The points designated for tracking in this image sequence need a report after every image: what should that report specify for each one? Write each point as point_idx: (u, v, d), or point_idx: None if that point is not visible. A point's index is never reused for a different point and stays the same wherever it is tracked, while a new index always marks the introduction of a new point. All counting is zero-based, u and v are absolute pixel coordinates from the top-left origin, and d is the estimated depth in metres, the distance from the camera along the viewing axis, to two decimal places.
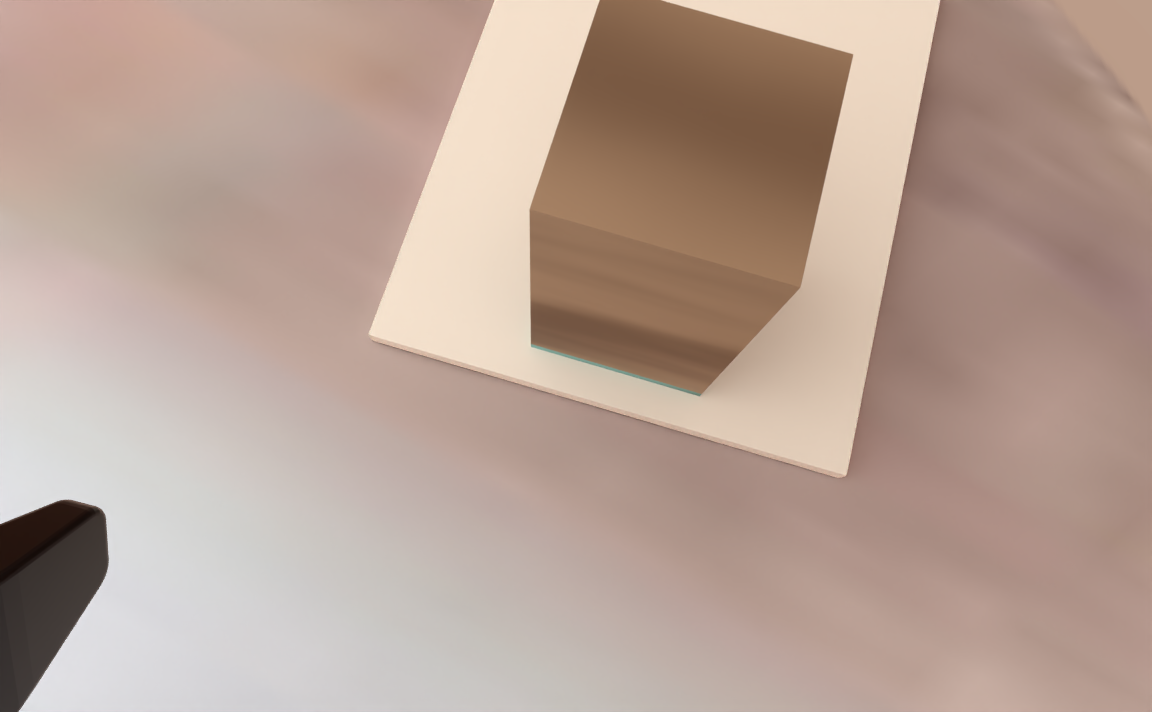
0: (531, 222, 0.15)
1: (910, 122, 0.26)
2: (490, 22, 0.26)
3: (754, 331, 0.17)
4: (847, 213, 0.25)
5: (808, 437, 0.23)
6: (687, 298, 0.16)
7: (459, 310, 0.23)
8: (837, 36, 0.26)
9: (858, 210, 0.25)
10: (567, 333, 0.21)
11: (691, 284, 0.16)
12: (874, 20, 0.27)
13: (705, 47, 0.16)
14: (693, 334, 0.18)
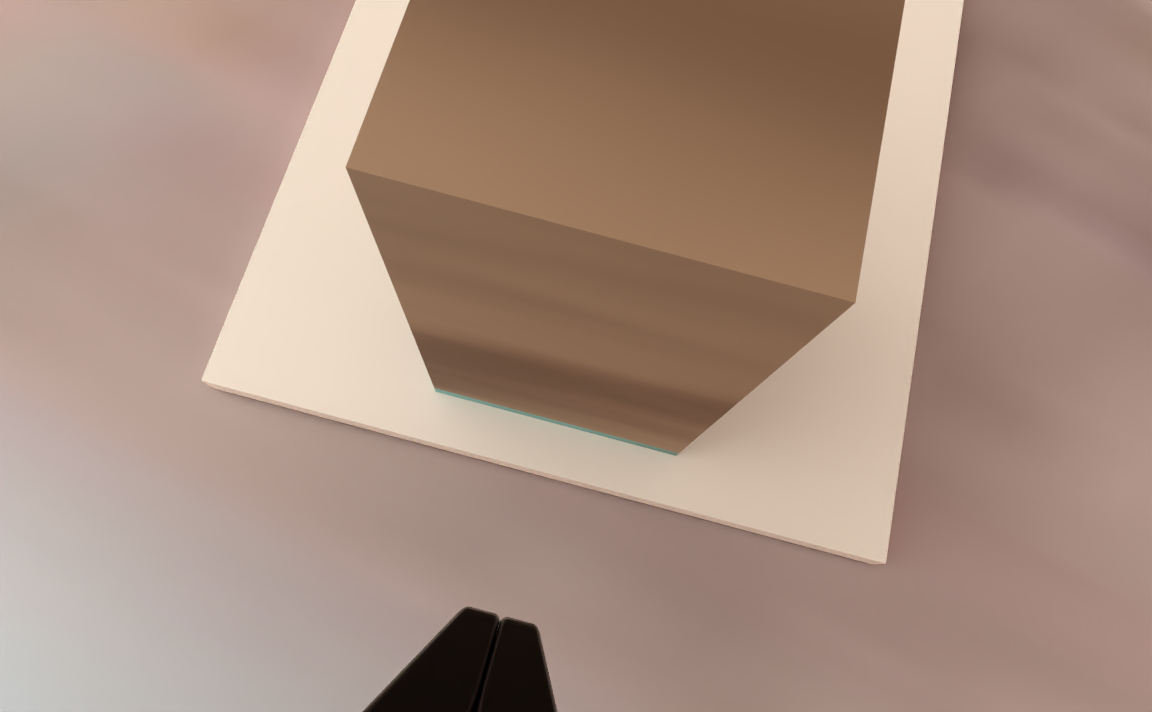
0: (359, 194, 0.08)
1: (946, 76, 0.19)
2: None
3: (761, 375, 0.10)
4: None
5: (830, 510, 0.16)
6: (649, 323, 0.10)
7: (333, 342, 0.16)
8: None
9: (883, 192, 0.18)
10: (478, 375, 0.14)
11: (654, 300, 0.09)
12: None
13: None
14: (663, 378, 0.12)
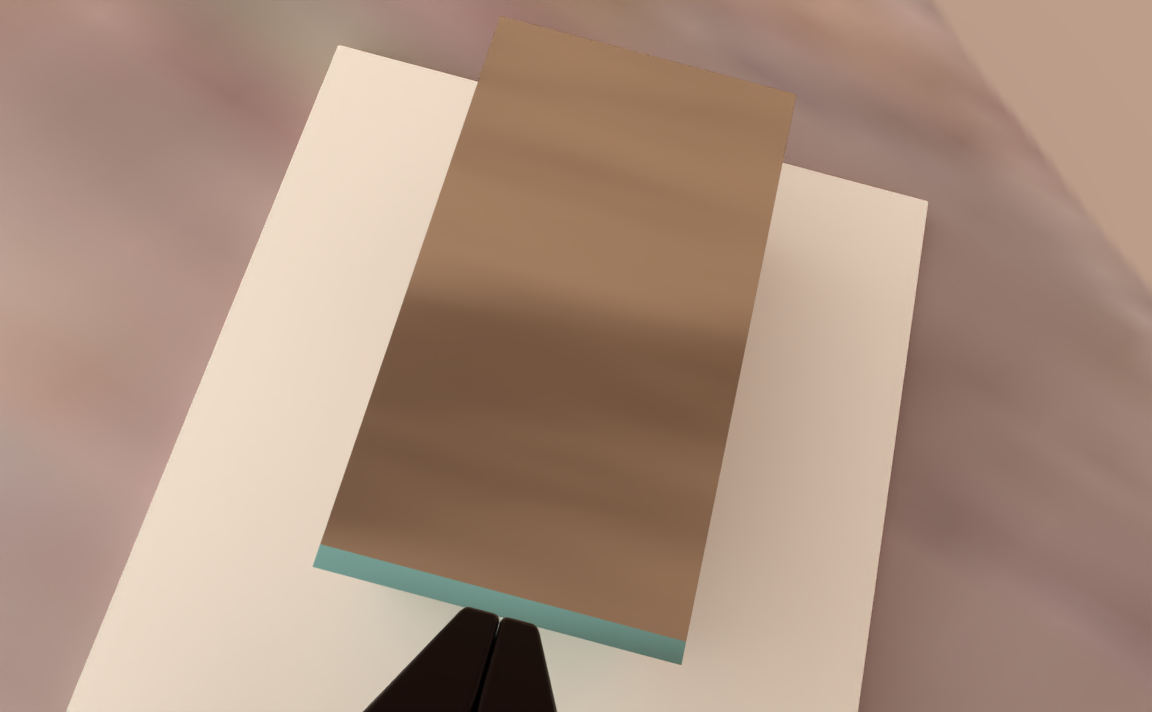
0: (493, 42, 0.13)
1: (889, 423, 0.17)
2: (247, 284, 0.17)
3: (760, 241, 0.12)
4: (797, 584, 0.16)
5: None
6: (670, 172, 0.13)
7: None
8: (777, 286, 0.18)
9: (814, 579, 0.16)
10: (437, 420, 0.11)
11: (676, 130, 0.13)
12: (830, 259, 0.18)
13: None
14: (675, 298, 0.12)
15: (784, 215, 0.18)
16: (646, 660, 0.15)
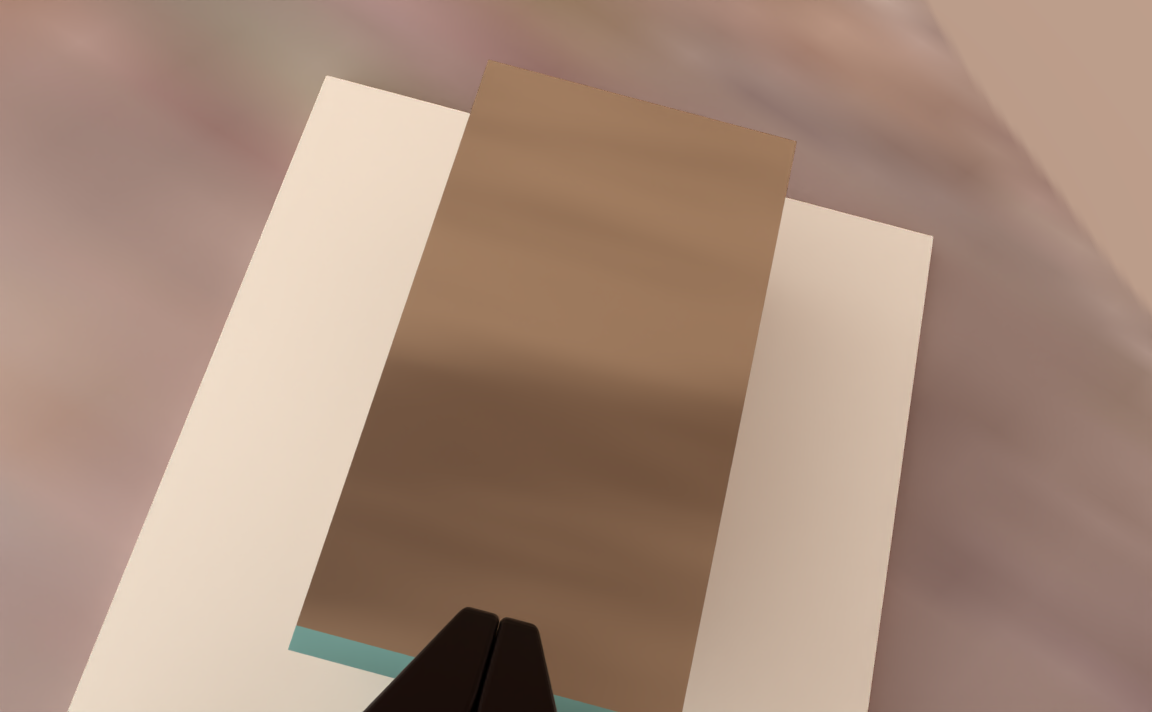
0: (481, 88, 0.13)
1: (892, 469, 0.16)
2: (231, 325, 0.16)
3: (758, 298, 0.12)
4: (797, 638, 0.15)
5: None
6: (664, 225, 0.12)
7: None
8: (777, 326, 0.17)
9: (815, 633, 0.15)
10: (419, 492, 0.11)
11: (671, 180, 0.12)
12: (832, 297, 0.17)
13: None
14: (669, 360, 0.12)
15: (785, 251, 0.18)
16: None
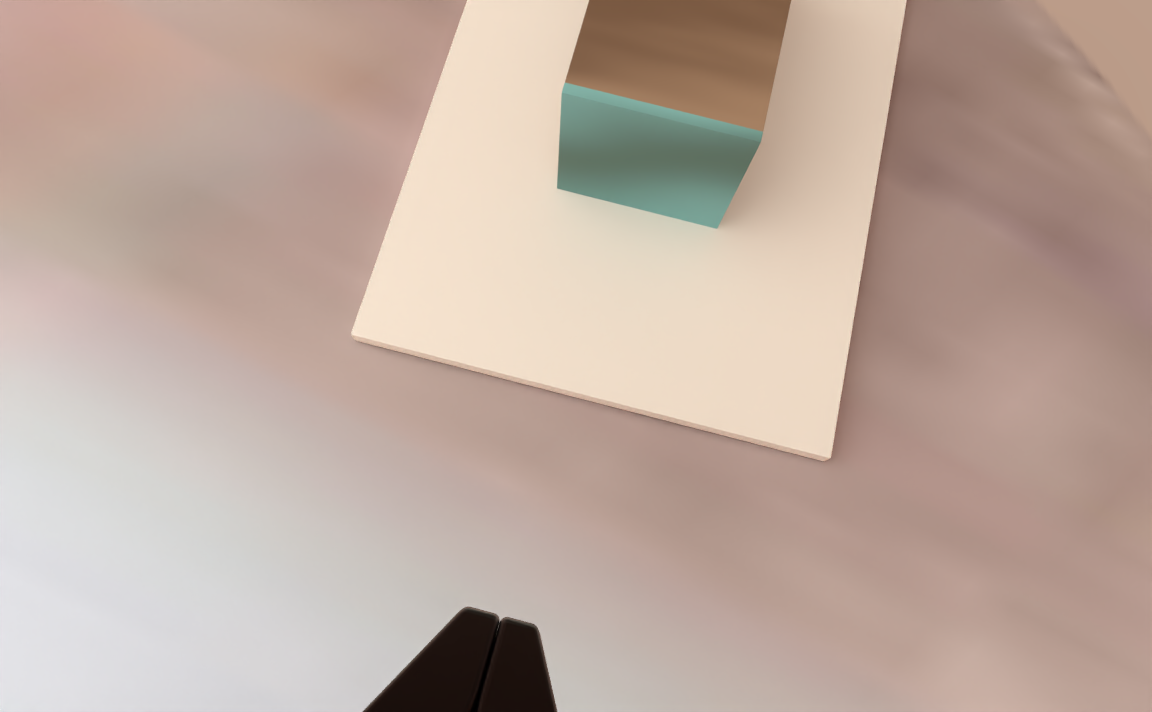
0: None
1: (883, 107, 0.26)
2: (463, 22, 0.26)
3: None
4: (823, 198, 0.25)
5: (791, 421, 0.23)
6: None
7: (440, 307, 0.23)
8: (808, 25, 0.27)
9: (834, 195, 0.25)
10: (622, 25, 0.20)
11: None
12: (844, 8, 0.27)
13: None
14: None
15: None
16: (728, 237, 0.24)
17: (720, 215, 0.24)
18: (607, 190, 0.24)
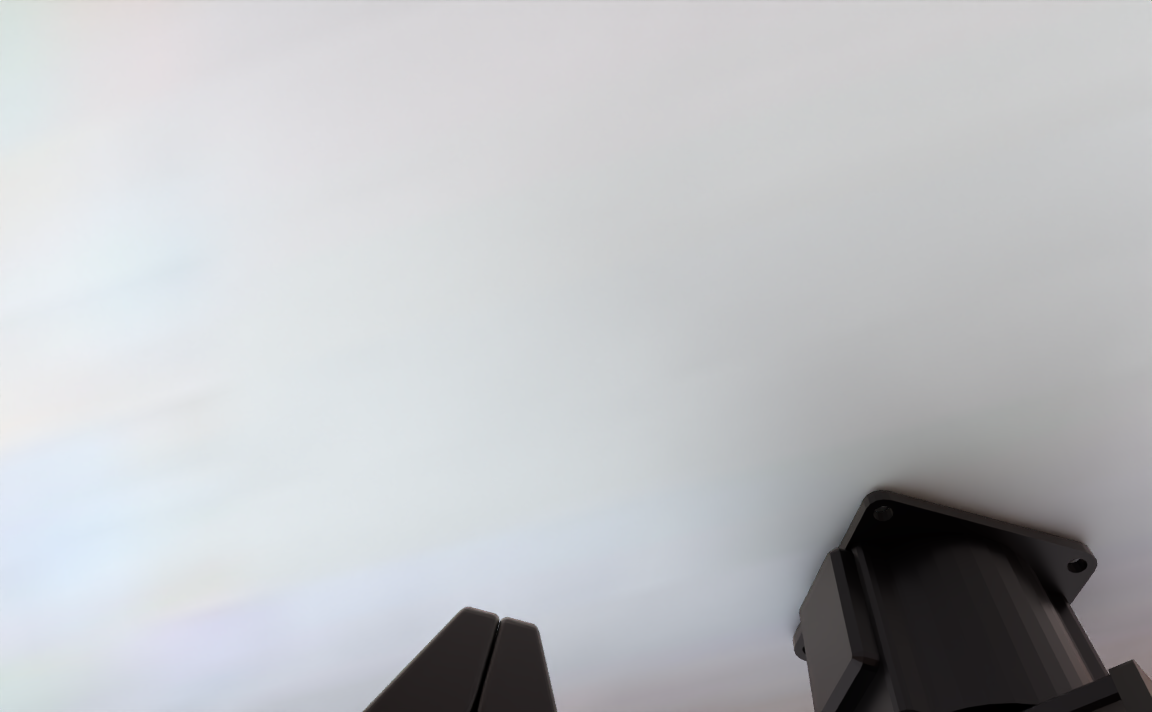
0: None
1: None
2: None
3: None
4: None
5: None
6: None
7: None
8: None
9: None
10: None
11: None
12: None
13: None
14: None
15: None
16: None
17: None
18: None
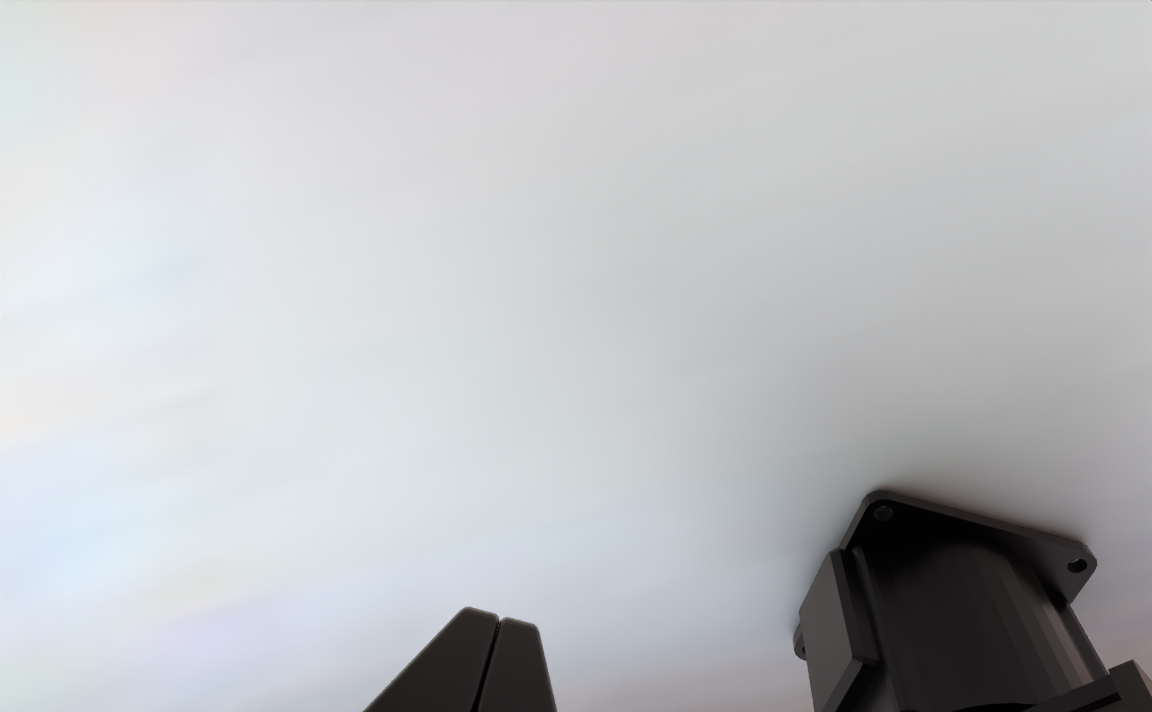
0: None
1: None
2: None
3: None
4: None
5: None
6: None
7: None
8: None
9: None
10: None
11: None
12: None
13: None
14: None
15: None
16: None
17: None
18: None
